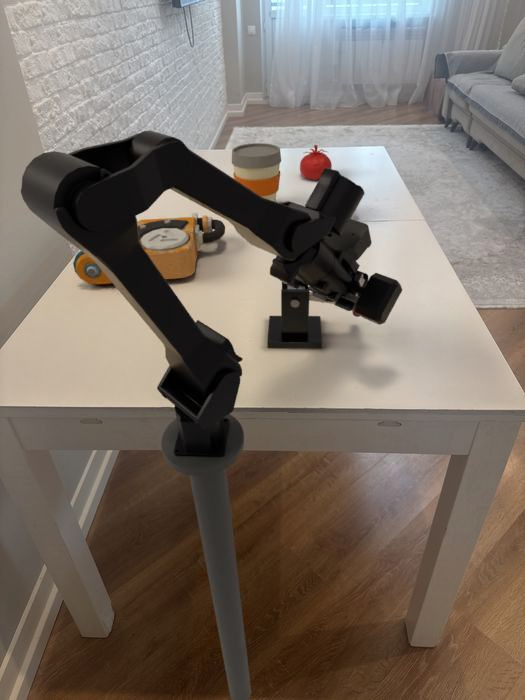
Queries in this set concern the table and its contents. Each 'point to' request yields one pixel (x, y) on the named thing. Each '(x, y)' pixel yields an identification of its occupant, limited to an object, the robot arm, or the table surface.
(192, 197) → the robot arm
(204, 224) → the device
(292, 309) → the bracket
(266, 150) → the reusable coffee cup
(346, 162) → the table surface
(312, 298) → the lever
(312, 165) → the red tomato
